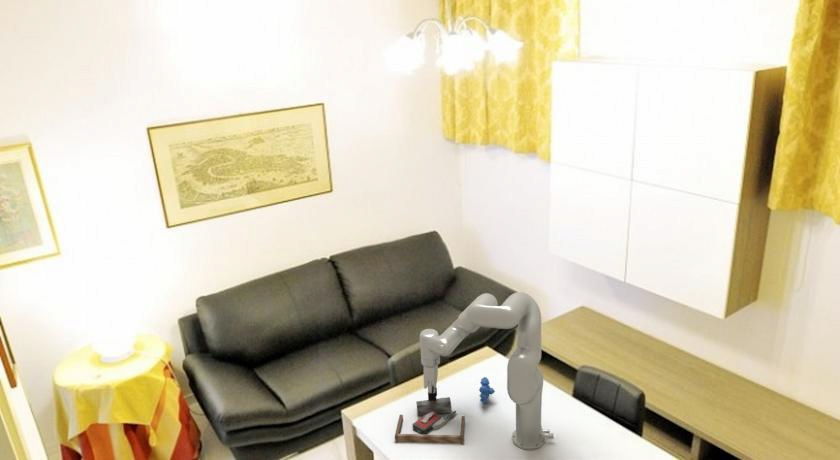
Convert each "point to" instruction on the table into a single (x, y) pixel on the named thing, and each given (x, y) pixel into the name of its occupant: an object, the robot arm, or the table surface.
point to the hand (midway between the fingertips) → (432, 397)
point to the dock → (429, 438)
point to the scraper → (434, 406)
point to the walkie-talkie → (430, 422)
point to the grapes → (485, 390)
